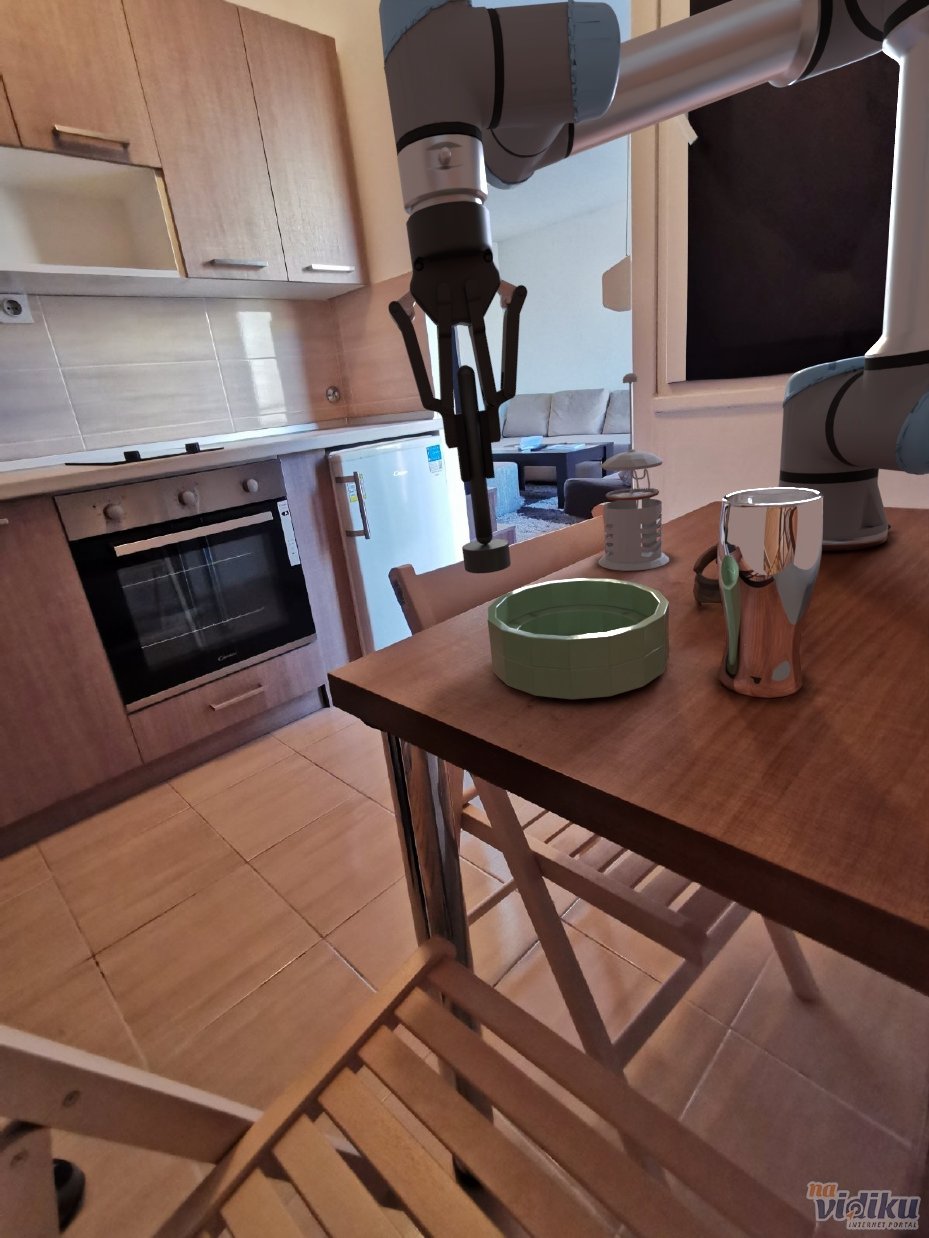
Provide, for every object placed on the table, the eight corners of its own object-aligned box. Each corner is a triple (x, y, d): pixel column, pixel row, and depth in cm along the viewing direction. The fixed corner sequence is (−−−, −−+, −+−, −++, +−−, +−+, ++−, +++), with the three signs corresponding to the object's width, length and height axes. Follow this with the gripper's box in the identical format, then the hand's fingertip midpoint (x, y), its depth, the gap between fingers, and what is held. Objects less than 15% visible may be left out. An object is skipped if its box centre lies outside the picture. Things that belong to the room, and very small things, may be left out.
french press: (589, 569, 83) (580, 378, 74) (612, 548, 92) (607, 376, 83) (661, 571, 78) (661, 368, 69) (678, 549, 87) (679, 367, 78)
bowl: (676, 638, 57) (677, 579, 55) (653, 717, 44) (652, 645, 42) (525, 629, 64) (521, 577, 62) (467, 696, 51) (458, 632, 49)
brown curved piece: (816, 618, 59) (791, 558, 55) (724, 657, 63) (694, 603, 59) (770, 558, 69) (746, 504, 65) (693, 595, 72) (666, 546, 69)
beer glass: (733, 655, 52) (741, 486, 47) (821, 674, 48) (840, 487, 42) (698, 686, 48) (702, 503, 43) (790, 710, 43) (807, 506, 38)
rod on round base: (517, 560, 65) (497, 361, 58) (500, 573, 61) (477, 361, 54) (476, 560, 67) (452, 368, 60) (457, 573, 63) (429, 369, 56)
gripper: (360, 207, 49) (406, 493, 57) (537, 186, 49) (556, 472, 57) (366, 233, 56) (406, 484, 64) (521, 214, 56) (540, 465, 64)
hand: (477, 478), depth 61 cm, fingers closed on rod on round base, 2 cm apart
